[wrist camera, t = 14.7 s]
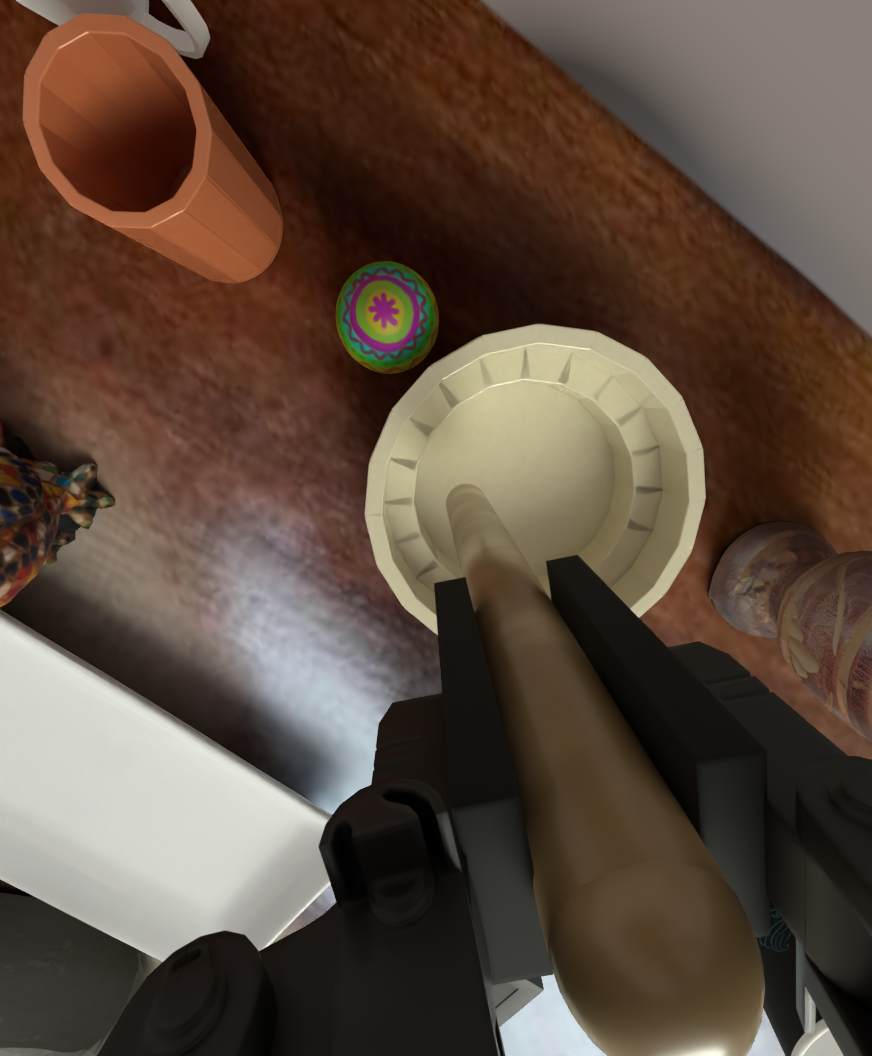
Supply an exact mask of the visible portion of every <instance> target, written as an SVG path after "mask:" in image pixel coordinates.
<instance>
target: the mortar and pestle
mask: <svg viewBox="0 0 872 1056" xmlns="http://www.w3.org/2000/svg"><path fill="white" fill-rule="evenodd" d="M708 596H709V597H710V598H711V599H712V600H713V603H714V606H715V608H716V610H717V612H718V613H719V614H720V615H721V617H722V618H723V619H724V620H726V621H727V622H728V623H729V624H730V625H731V626H732V627H734V628H735V629H737V630H739V631H741V632H744V633H746V634H749V635H753V636H759V637H767V638H777V639H778V643H779V647H780V651H781V654H782V655H783V657H784V658H785V660H786V661H787V662H788V664H789V665H790V667H791V668H792V669H793V670H794V671H795V672H796V674H797V675H798V677H799V679H800V681H801V682H802V683H803V684H804V685H805V686H806V687H807V688H808V689H809V690H810V692H811V693H812V694H813V695H814V696H815V697H816V698H817V699H818V700H819V701H820V702H821V703H822V704H824V705H825V706H826V707H827V708H828V709H829V710H830V711H831V712H832V713H833V714H834V715H836V716H837V717H838V718H839V719H841V720H842V721H843V722H845V723H846V724H847V725H848V726H850V727H851V728H852V729H854V730H855V731H856V732H857V733H859V734H860V735H862V736H863V737H865V738H866V739H867V740H869V741H870V742H871V743H872V551H858V552H846V553H842V554H837V552H836V551H835V549H834V548H833V547H832V545H831V544H830V543H829V542H828V541H827V540H826V539H825V538H823V537H822V536H821V535H820V534H818V533H816V532H815V531H813V530H812V529H810V528H808V527H805V526H803V525H800V524H797V523H792V522H770V523H765V524H761V525H758V526H756V527H754V528H751V529H750V530H748V531H746V532H745V533H743V534H742V535H740V536H739V537H738V538H737V539H736V540H735V541H734V542H733V543H732V544H731V545H730V546H729V547H728V548H727V550H726V551H725V552H724V554H723V555H722V557H721V559H720V562H719V564H718V566H717V568H716V570H715V573H714V575H713V578H712V582H711V586H710V590H709V594H708Z"/></svg>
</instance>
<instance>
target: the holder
mask: <svg viewBox="0 0 872 1056" xmlns="http://www.w3.org/2000/svg"><path fill="white" fill-rule="evenodd" d="M23 121H24V122H23V124H24V127H25V130H26V132H27V135H28V138H29V141H30V144H31V146H32V149H33V152H34V155H35V157H36V160H37V163H38V166H39V168H40V169H41V171H42V172H43V173H44V175H45V176H46V177H47V178H48V179H49V181H50V182H51V183H52V184H53V185H54V187H55V188H56V189H57V190H58V191H59V192H60V194H61V195H62V196H63V197H64V198H65V200H66V201H67V202H68V203H69V204H70V205H71V206H72V207H73V208H75V209H77V210H79V211H81V212H83V213H85V214H86V215H88V216H90V217H92V218H94V219H96V220H98V221H100V222H102V223H103V224H105V225H107V226H109V227H111V228H113V229H115V230H117V231H118V232H120V233H122V234H124V235H126V236H128V237H130V238H132V239H134V240H135V241H137V242H139V243H141V244H143V245H145V246H147V247H149V248H150V249H152V250H154V251H156V252H158V253H160V254H162V255H164V256H166V257H167V258H169V259H171V260H173V261H175V262H177V263H179V264H181V265H182V266H184V267H186V268H188V269H190V270H192V271H194V272H196V273H198V274H199V275H201V276H203V277H205V278H207V279H209V280H212V281H216V282H221V283H240V282H244V281H248V280H250V279H252V278H254V277H256V276H258V275H259V274H261V273H262V272H263V271H264V270H265V269H266V268H267V267H268V266H269V265H270V264H271V263H272V261H273V260H274V258H275V256H276V254H277V252H278V250H279V247H280V244H281V241H282V235H283V215H282V210H281V205H280V202H279V199H278V196H277V194H276V192H275V190H274V187H273V185H272V184H271V182H270V181H269V179H268V178H267V177H266V175H265V174H264V172H263V171H262V170H261V168H260V167H259V165H258V164H257V163H256V161H255V160H254V158H253V157H252V156H251V154H250V153H249V151H248V150H247V148H246V147H245V146H244V144H243V143H242V141H241V140H240V139H239V137H238V136H237V134H236V133H235V132H234V130H233V129H232V127H231V126H230V125H229V123H228V122H227V120H226V119H225V118H224V116H223V115H222V113H221V112H220V111H219V109H218V108H217V106H216V105H215V104H214V102H213V101H212V99H211V98H210V97H209V95H208V94H207V92H206V91H205V90H204V88H203V87H202V85H201V84H200V83H199V81H198V80H197V78H196V77H195V76H194V74H193V73H192V72H191V70H190V69H189V67H188V66H187V65H186V63H185V62H184V61H183V59H182V58H181V57H180V55H179V54H178V52H177V51H176V50H175V48H174V47H173V46H172V44H171V43H170V42H168V40H167V39H165V38H163V37H162V36H160V35H158V34H157V33H155V32H153V31H152V30H150V29H148V28H147V27H145V26H143V25H142V24H140V23H138V22H137V21H135V20H133V19H132V18H130V17H127V16H125V15H108V14H90V13H83V14H79V15H78V16H76V17H74V18H72V19H71V20H69V21H67V22H65V23H64V24H62V25H60V26H58V27H57V28H55V29H53V30H51V31H50V32H48V33H47V34H46V35H45V36H44V37H43V39H42V41H41V43H40V45H39V47H38V48H37V50H36V52H35V54H34V56H33V58H32V60H31V61H30V63H29V65H28V67H27V69H26V71H25V74H24V93H23Z"/></svg>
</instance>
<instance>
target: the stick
mask: <svg viewBox="0 0 872 1056" xmlns="http://www.w3.org/2000/svg"><path fill="white" fill-rule="evenodd" d="M446 510H447V514H448V518H449V523H450V527H451V532H452V536H453V540H454V545H455V549H456V554H457V558H458V562H459V567H460V571H461V575H462V577H466V581H467V585H468V589H469V593H470V597H471V601H472V605H473V609H474V613H475V617H476V621H477V625H478V629H479V633H480V637H481V641H482V645H483V649H484V653H485V657H486V661H487V665H488V669H489V673H490V677H491V681H492V685H493V689H494V693H495V697H496V701H497V706H498V710H499V714H500V718H501V722H502V726H503V730H504V734H505V738H506V742H507V746H508V750H509V754H510V758H511V762H512V766H513V770H514V774H515V778H516V782H517V786H518V790H519V794H520V798H521V804H522V809H523V814H524V820H525V825H526V830H527V836H528V841H529V846H530V852H531V857H532V862H533V868H534V878H533V888H534V895H535V900H536V904H537V908H538V913H539V917H540V922H541V926H542V930H543V935H544V939H545V943H546V948H547V952H548V957H549V960H550V964H551V966H552V969H553V972H554V975H555V978H556V981H557V984H558V987H559V990H560V993H561V995H562V996H563V998H564V1000H565V1002H566V1004H567V1006H568V1008H569V1010H570V1012H571V1014H572V1015H573V1017H574V1018H575V1020H576V1021H577V1023H578V1024H579V1025H580V1027H581V1028H582V1029H583V1031H584V1032H585V1033H586V1034H587V1036H588V1037H589V1038H590V1040H591V1041H592V1042H593V1043H594V1044H595V1045H596V1046H597V1047H598V1048H599V1049H600V1050H601V1051H603V1052H604V1053H605V1054H606V1055H607V1056H746V1055H747V1054H748V1052H749V1051H750V1049H751V1047H752V1044H753V1042H754V1040H755V1037H756V1035H757V1032H758V1030H759V1027H760V1025H761V1022H762V1013H763V1004H764V995H765V982H764V973H763V964H762V958H761V953H760V949H759V946H758V942H757V939H756V936H755V933H754V930H753V927H752V925H751V923H750V921H749V919H748V917H747V915H746V913H745V911H744V909H743V907H742V905H741V902H740V901H739V899H738V897H737V895H736V893H735V892H734V890H733V889H732V887H731V885H730V884H729V882H728V881H727V879H726V877H725V876H724V874H723V873H722V871H721V870H720V868H719V866H718V865H717V863H716V862H715V860H714V858H713V857H712V855H711V854H710V852H709V850H708V849H707V847H706V846H705V844H704V843H703V841H702V839H701V838H700V836H699V835H698V833H697V831H696V830H695V828H694V827H693V825H692V823H691V822H690V820H689V819H688V817H687V816H686V814H685V812H684V811H683V809H682V808H681V806H680V804H679V803H678V801H677V800H676V798H675V796H674V795H673V793H672V792H671V790H670V789H669V787H668V785H667V784H666V782H665V781H664V779H663V777H662V776H661V774H660V773H659V771H658V769H657V768H656V766H655V765H654V763H653V762H652V760H651V758H650V757H649V755H648V754H647V752H646V750H645V749H644V747H643V746H642V744H641V742H640V741H639V739H638V738H637V736H636V735H635V733H634V731H633V730H632V728H631V727H630V725H629V723H628V722H627V720H626V719H625V717H624V715H623V714H622V712H621V711H620V709H619V707H618V706H617V704H616V703H615V701H614V700H613V698H612V696H611V695H610V693H609V692H608V690H607V688H606V687H605V685H604V684H603V682H602V680H601V679H600V677H599V676H598V674H597V673H596V671H595V669H594V668H593V666H592V665H591V663H590V661H589V660H588V658H587V657H586V655H585V653H584V652H583V650H582V649H581V647H580V646H579V644H578V642H577V641H576V639H575V638H574V636H573V634H572V633H571V631H570V630H569V628H568V626H567V625H566V623H565V622H564V620H563V619H562V617H561V615H560V614H559V612H558V611H557V609H556V607H555V606H554V604H553V603H552V601H551V599H550V598H549V596H548V595H547V593H546V592H545V590H544V588H543V587H542V585H541V584H540V582H539V580H538V579H537V577H536V576H535V574H534V572H533V571H532V569H531V568H530V566H529V565H528V563H527V561H526V560H525V558H524V557H523V555H522V553H521V552H520V550H519V549H518V547H517V545H516V544H515V542H514V541H513V539H512V538H511V536H510V534H509V533H508V531H507V530H506V528H505V526H504V525H503V523H502V522H501V520H500V518H499V517H498V515H497V514H496V512H495V511H494V509H493V507H492V506H491V504H490V503H489V501H488V499H487V498H486V496H485V495H484V493H483V492H482V490H481V489H479V488H478V487H476V486H475V485H472V484H461V485H458V486H456V487H454V488H453V489H452V490H451V491H450V492H449V494H448V496H447V499H446Z"/></svg>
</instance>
